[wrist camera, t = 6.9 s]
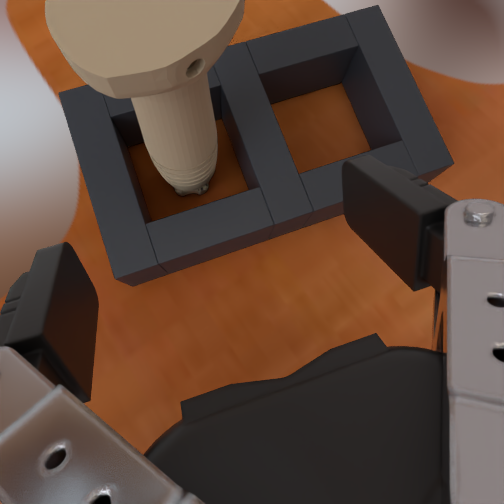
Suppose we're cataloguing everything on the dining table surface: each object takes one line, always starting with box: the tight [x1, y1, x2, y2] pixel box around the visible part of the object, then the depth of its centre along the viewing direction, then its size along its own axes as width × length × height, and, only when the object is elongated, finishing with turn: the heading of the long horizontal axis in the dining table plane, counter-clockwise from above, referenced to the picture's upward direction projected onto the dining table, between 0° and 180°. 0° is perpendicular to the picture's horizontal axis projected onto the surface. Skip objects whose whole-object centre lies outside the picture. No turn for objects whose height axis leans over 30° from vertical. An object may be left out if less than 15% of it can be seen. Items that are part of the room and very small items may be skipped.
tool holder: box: [59, 5, 454, 286], centre depth 26 cm, size 22×12×4 cm, turn 110°
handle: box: [45, 0, 245, 196], centre depth 20 cm, size 5×6×15 cm
